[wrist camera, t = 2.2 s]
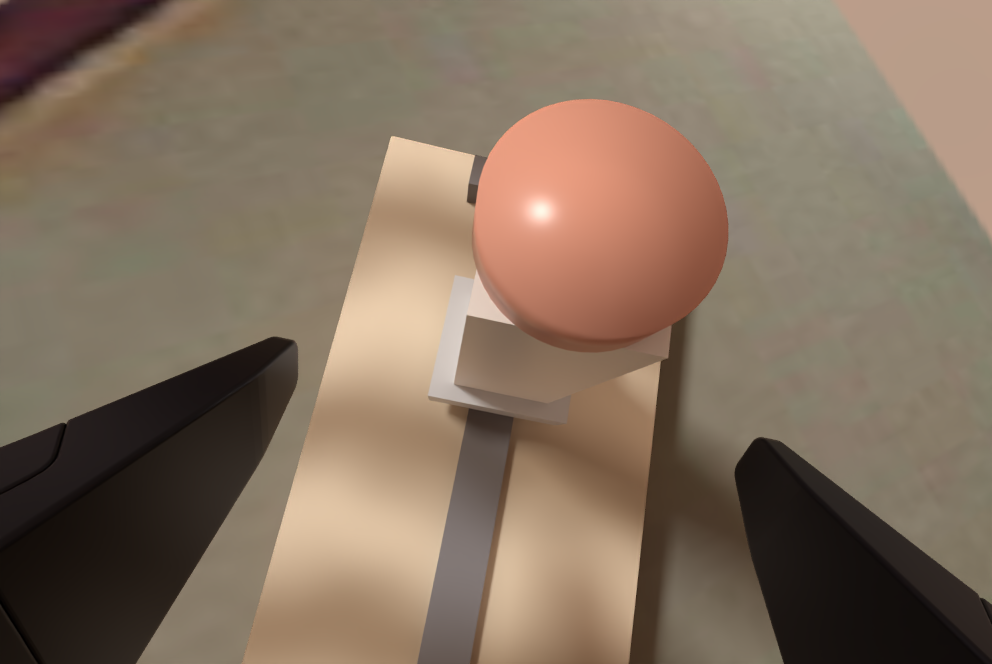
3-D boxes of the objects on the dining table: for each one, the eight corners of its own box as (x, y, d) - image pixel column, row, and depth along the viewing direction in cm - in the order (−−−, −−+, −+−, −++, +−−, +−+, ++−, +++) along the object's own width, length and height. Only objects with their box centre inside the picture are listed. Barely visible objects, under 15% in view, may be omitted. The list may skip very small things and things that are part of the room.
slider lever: (554, 425, 16) (754, 394, 6) (429, 399, 16) (404, 320, 6) (572, 316, 17) (770, 122, 7) (453, 290, 17) (471, 47, 7)
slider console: (580, 871, 16) (617, 985, 12) (215, 819, 15) (151, 925, 12) (656, 224, 22) (694, 185, 18) (396, 164, 21) (387, 112, 18)
